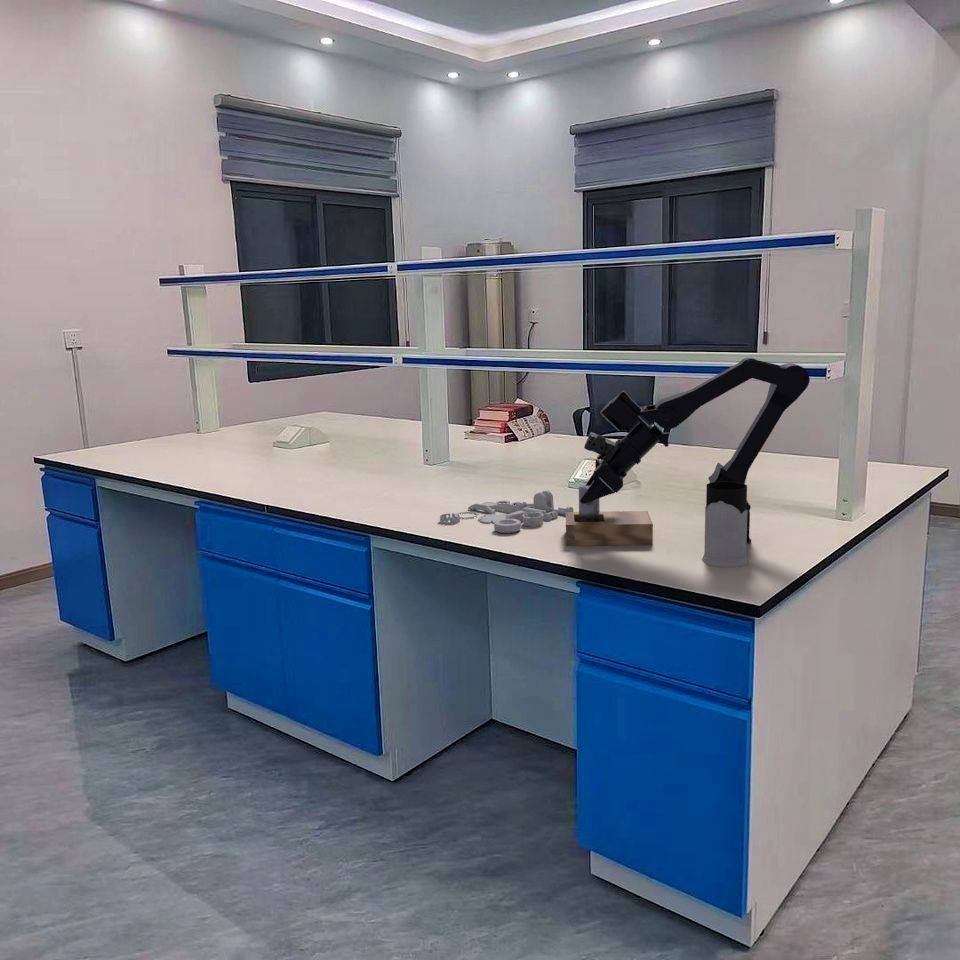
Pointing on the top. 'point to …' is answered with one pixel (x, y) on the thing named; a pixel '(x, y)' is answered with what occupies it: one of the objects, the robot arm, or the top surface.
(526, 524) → the robot parts
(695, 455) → the top surface
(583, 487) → the axle
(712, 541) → the glass holder
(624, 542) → the wooden block with hole
